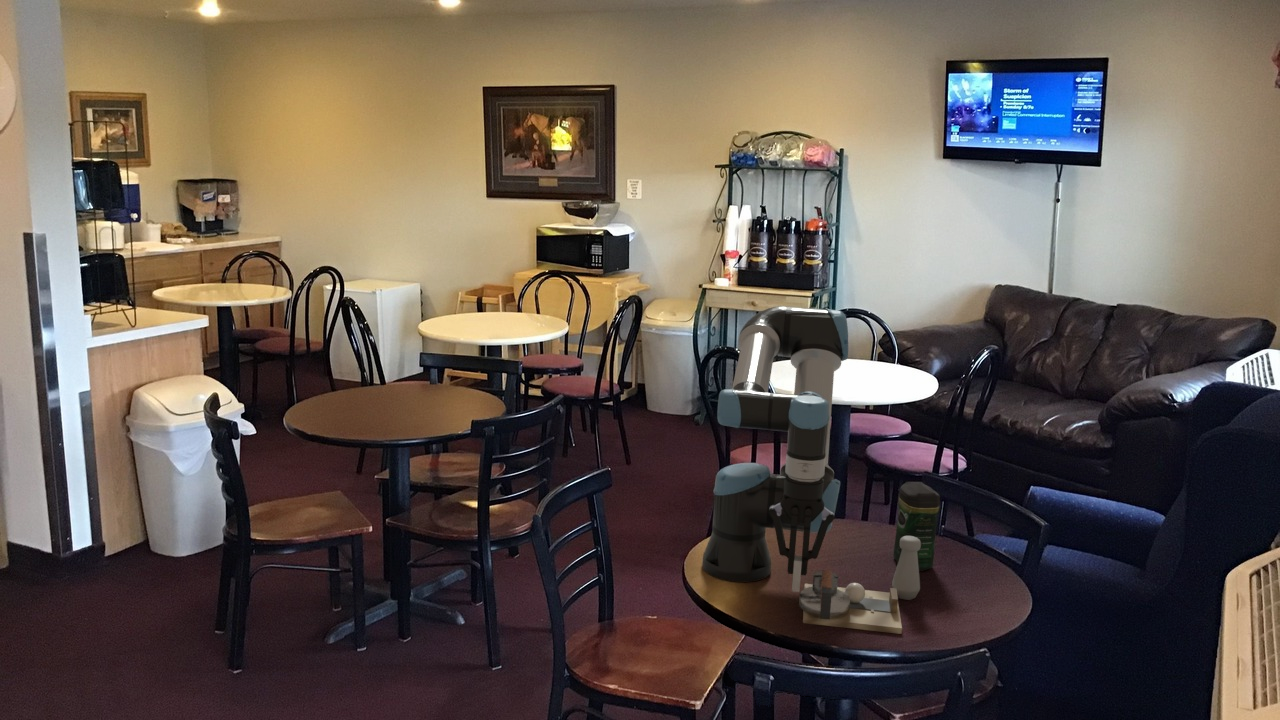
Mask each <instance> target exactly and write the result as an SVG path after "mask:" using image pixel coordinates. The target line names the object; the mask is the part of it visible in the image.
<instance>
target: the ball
mask: <svg viewBox="0 0 1280 720" xmlns="http://www.w3.org/2000/svg"><path fill="white" fill-rule="evenodd" d="M845 588H846V589H845V593H846V594H847V595H848V596H849V598H850V601H851V602H853V603H858V602H860V601H862V600H863V599H864V597H865V590H866V589H865V588H864V586H863V584H860V583H858V582H851V583H849V584H847V586H846V587H845Z"/></svg>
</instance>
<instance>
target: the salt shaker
mask: <svg viewBox="0 0 1280 720" xmlns="http://www.w3.org/2000/svg"><path fill="white" fill-rule="evenodd" d="M920 547H921V542H920V540H919V539H918V538H917V537H914V536H903V537H902V538H901V539H900V548H901V549H902V551H901V555H900V558H899V562H897V565H896V568H895V573H894V575H893V579H892V581H891V582H892V583H891V584H892V585H891V588H896V590H897V596H898V599H900V600H908V601H911V600H914V599H916V597H917V595H918V594H919V592H920V590H921V580H920V571H919V567H918V556H917V551H918V550H920Z"/></svg>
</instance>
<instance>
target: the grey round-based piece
mask: <svg viewBox="0 0 1280 720" xmlns="http://www.w3.org/2000/svg"><path fill="white" fill-rule="evenodd" d="M838 583H839V576H838V574H836V573H835V572H832V570H823V569H822V570H817V571H814V572H813V575H812V584H813V587H808V588H805V587H804V588H805V589H804V588H803V589H802V590H800V591H799V597H798V598H799V600H798V605H799V608H800V609H801V610H804V611H805V612H807V613H809V614H812V615H815V616H819V617H820V619H829V620H830V618H833V617H840V616H843V615H845V614H847V613H848V612H849V607H850V598H849V596H848V595H847V594H846V593H844V592H843V591H840V590H838V589H837V587H839V586H838Z"/></svg>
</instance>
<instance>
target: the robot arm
mask: <svg viewBox="0 0 1280 720" xmlns="http://www.w3.org/2000/svg"><path fill="white" fill-rule="evenodd" d="M737 343H738V344H737V345H738V349H739V351H740V352H739V356H738V361H737V364H736V369H735V373H734V379H733V383H732V387H731V388H729V389H722V390H720V392H719V394H718V401H717V411H716V412H717V413H716V415H717V417H716V418H717V422H718V424H720V425H721V426H726V427H731V428H735V429H739V428H740V429H741V428H742V429H755V430H757V429H758V430H768V431H777V432H787V448H786V453H785V463H784V464H782V465H781V467H780V474H776V473H775V474H774V473H771V470H770V468H769V466H768V465H765V464H761V463H760V462H759V463H758V462H741V463H734V464H730V465H727V466H725V467H723V468H721V469H719V471H718V472H717V474H716V475H715V481H714V488H713V494H714V498H713V513H712V527H711V528H712V530H711V533H710V534H711V535H710V537H709V540H708V542H707V544H706V547H705V550H704V552H703V554H702V563H701V564H702V569H703V570H704V572H706V573H707V575H710V576H711V577H714V578H716V579H719V580H722V581H727V582H735V583H749V582H750V583H751V582H757V581H761V580H763V579H766V578H767V577H768V576H769V575H770V574H771V571H772V558H771V554H770V550H769V547H768V543H767V539H766V530H767V529H774V530H775V534H776V535H775V536H776V540H777V546H778V551H779V552H778V553H779V555H780V556H782V557H786V558H787V570H786V571H787V574H789V575H792V583H791V584H792V585H791V586H792V587H791V592H794V593H800V592H801V590H800V587H801V576H806V575H807V574H808V562H809V560H812V559H813V560H816V559H818V557H819V553H820V551H821V548H822V545H823V543H824V542H823V541H824V539H825V537H826V533H828V532H829V531H830V530H831V528H832V526H833V522H834V520H835V513H836V508H837V504H838V499H839V493H840V487H841V481H840V480H838V479H837V478H835V472H834V470H833V469H832V467H830V466H829V463H828V462H829V451H830V435H831V420H832V405H833V390H834V379H835V378H834V376H835V372H836V371H837V370H838V369H840V368H841V366H842V362H844V361H847V360H848V357H849V329H848V320H847V317H846V313H844V312H843V311H842V310H836V309H829V308H827V307H825V308H824V309H823V308H813V307H812V308H811V307H810V308H809V307H797V306H783V305H777V306H773V307H768V308H766V309H764V310H761V311H760V312H758V313H756V314H755V315H753V316H752V317H751V318H750V319H748V320H747V321H746V323H745V324H744V325H743V327H742V328H741V330H740V332H739V336H738V340H737ZM776 356H783V357H790V364H791V365H792V366H793V368H795V369H796V370H795V379H794V381H795V382H794V389H793V390H794V392H793V394H790V393H777V392H776V393H775V392H769V390H770V389H769V387H770V382H771V376H772V375H771V374H772V369H773V364H774V358H775V357H776ZM766 528H767V529H766ZM785 530H786V531H789V532H790V533H789V547H787V546H786V544H787V543H786V540H785V533H784V531H785ZM797 532H803V534H802V537H803V538H802V549H801V552H802V553H801V555H796V545H797ZM811 533H816V537H815V540H814V542H813V546H812V548H811V550H810V549H809V548H810V536H811Z"/></svg>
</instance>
